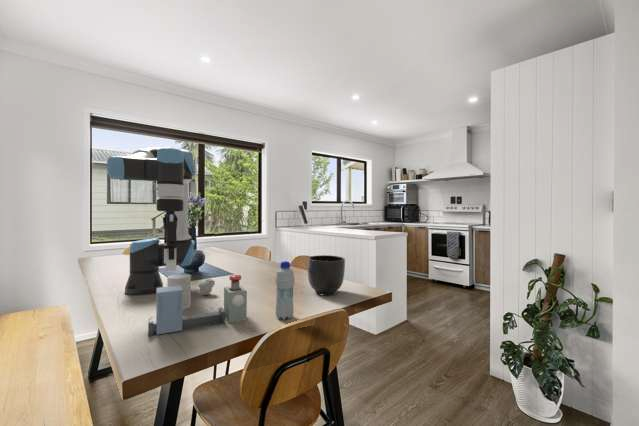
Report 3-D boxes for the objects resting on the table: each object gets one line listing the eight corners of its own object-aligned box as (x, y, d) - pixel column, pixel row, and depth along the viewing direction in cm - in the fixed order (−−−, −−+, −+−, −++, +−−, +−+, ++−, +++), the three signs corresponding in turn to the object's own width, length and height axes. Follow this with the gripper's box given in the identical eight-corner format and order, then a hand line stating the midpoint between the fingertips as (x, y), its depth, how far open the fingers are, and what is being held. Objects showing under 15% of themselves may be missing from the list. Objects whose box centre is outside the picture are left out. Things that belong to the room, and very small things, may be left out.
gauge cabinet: (223, 314, 110) (224, 287, 110) (240, 312, 113) (240, 285, 113) (229, 322, 103) (229, 293, 103) (246, 319, 106) (247, 291, 106)
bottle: (275, 314, 112) (276, 259, 111) (293, 314, 112) (294, 259, 112) (274, 321, 105) (275, 263, 105) (293, 320, 106) (294, 263, 105)
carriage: (156, 326, 98) (156, 287, 98) (180, 322, 102) (180, 284, 101) (156, 335, 91) (157, 293, 91) (182, 331, 95) (182, 290, 94)
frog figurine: (215, 295, 134) (215, 279, 134) (198, 297, 131) (198, 281, 131) (213, 292, 139) (214, 276, 139) (197, 293, 136) (197, 278, 136)
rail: (148, 330, 96) (148, 317, 96) (222, 318, 107) (222, 307, 107) (148, 336, 91) (148, 322, 91) (225, 323, 102) (225, 311, 102)
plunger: (228, 298, 109) (228, 275, 109) (239, 296, 111) (239, 274, 111) (230, 301, 105) (230, 278, 105) (242, 299, 107) (242, 276, 107)
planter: (352, 294, 139) (352, 259, 139) (320, 300, 129) (321, 262, 129) (329, 286, 153) (330, 254, 153) (300, 291, 143) (300, 256, 143)
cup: (181, 311, 113) (181, 279, 113) (162, 309, 115) (162, 277, 114) (194, 304, 121) (195, 274, 121) (176, 303, 123) (176, 273, 122)
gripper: (155, 199, 105) (155, 261, 105) (157, 197, 83) (156, 275, 83) (180, 199, 108) (179, 259, 109) (187, 198, 87) (186, 273, 87)
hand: (169, 266), depth 96 cm, fingers open, 13 cm apart
